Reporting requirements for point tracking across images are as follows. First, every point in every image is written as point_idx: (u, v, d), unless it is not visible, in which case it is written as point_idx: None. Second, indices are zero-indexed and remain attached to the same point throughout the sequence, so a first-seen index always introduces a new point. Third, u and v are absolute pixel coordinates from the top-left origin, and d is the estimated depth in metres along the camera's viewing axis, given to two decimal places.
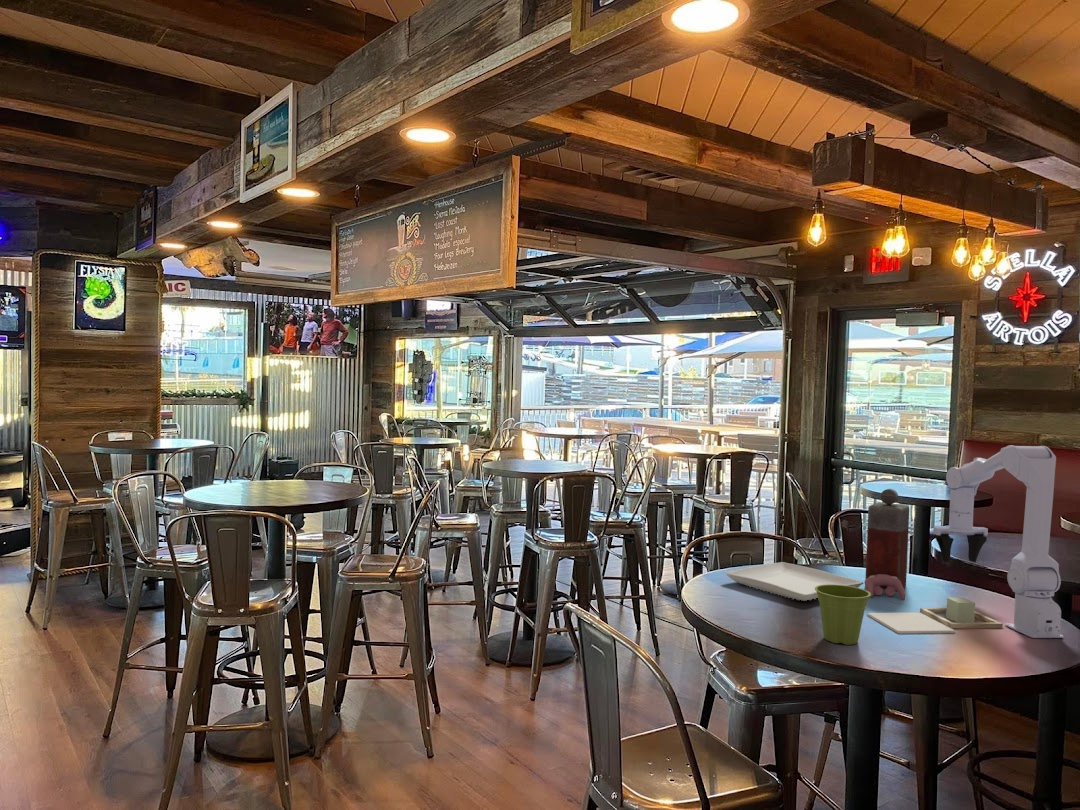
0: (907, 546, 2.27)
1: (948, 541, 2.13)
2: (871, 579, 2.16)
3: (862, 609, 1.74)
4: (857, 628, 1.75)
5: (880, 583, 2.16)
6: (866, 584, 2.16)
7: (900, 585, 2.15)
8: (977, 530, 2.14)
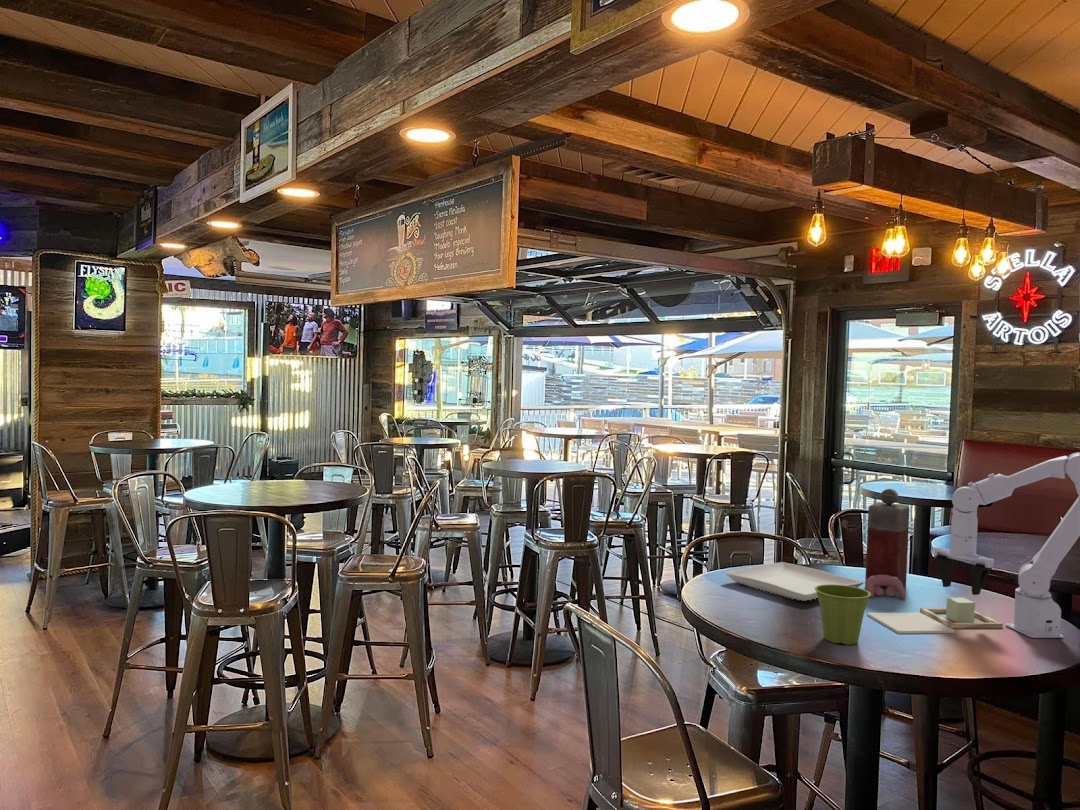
0: (907, 546, 2.27)
1: (937, 562, 1.99)
2: (871, 579, 2.16)
3: (862, 609, 1.74)
4: (857, 628, 1.75)
5: (880, 583, 2.16)
6: (866, 584, 2.16)
7: (900, 585, 2.14)
8: (971, 558, 1.91)
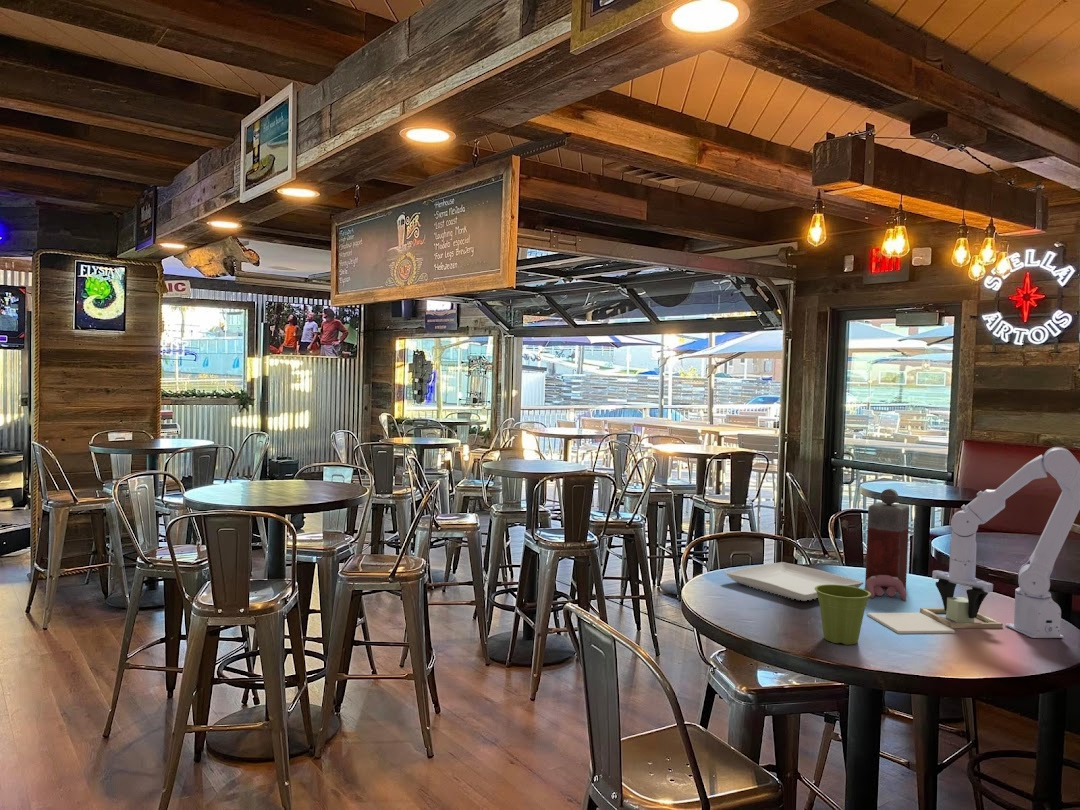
0: (907, 546, 2.27)
1: (938, 586, 1.98)
2: (872, 580, 2.15)
3: (862, 609, 1.74)
4: (857, 628, 1.75)
5: (881, 584, 2.15)
6: (867, 585, 2.16)
7: (901, 586, 2.14)
8: (970, 582, 1.92)
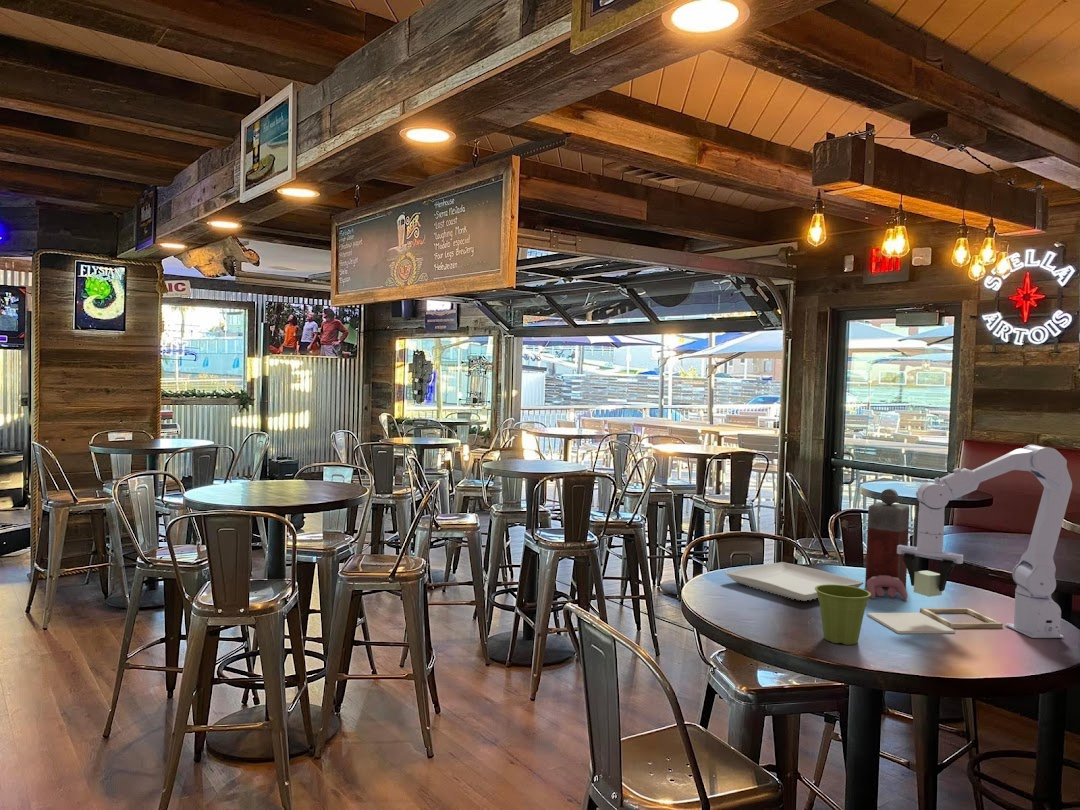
0: None
1: (907, 561, 1.94)
2: (873, 580, 2.15)
3: (862, 609, 1.74)
4: (857, 628, 1.75)
5: (882, 584, 2.15)
6: (868, 585, 2.15)
7: (902, 586, 2.14)
8: (942, 555, 1.89)
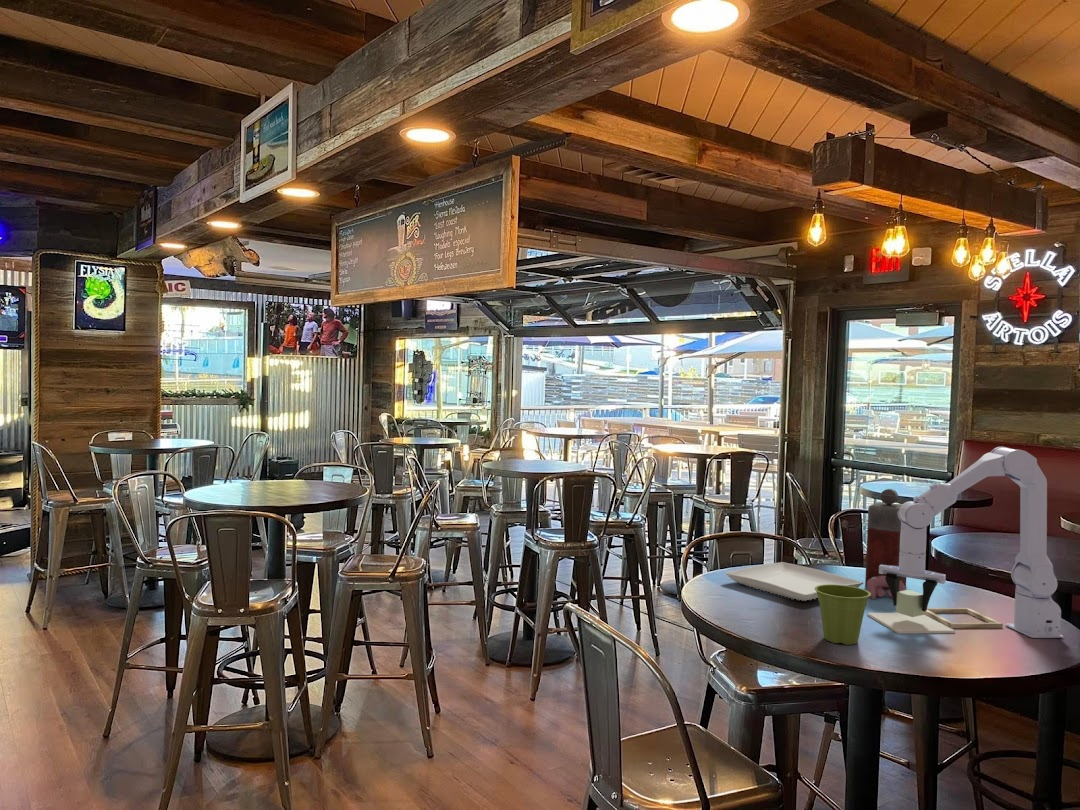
0: None
1: (889, 581, 1.92)
2: (873, 581, 2.15)
3: (862, 609, 1.74)
4: (857, 628, 1.75)
5: (882, 585, 2.15)
6: (868, 586, 2.15)
7: (902, 587, 2.13)
8: (926, 575, 1.87)
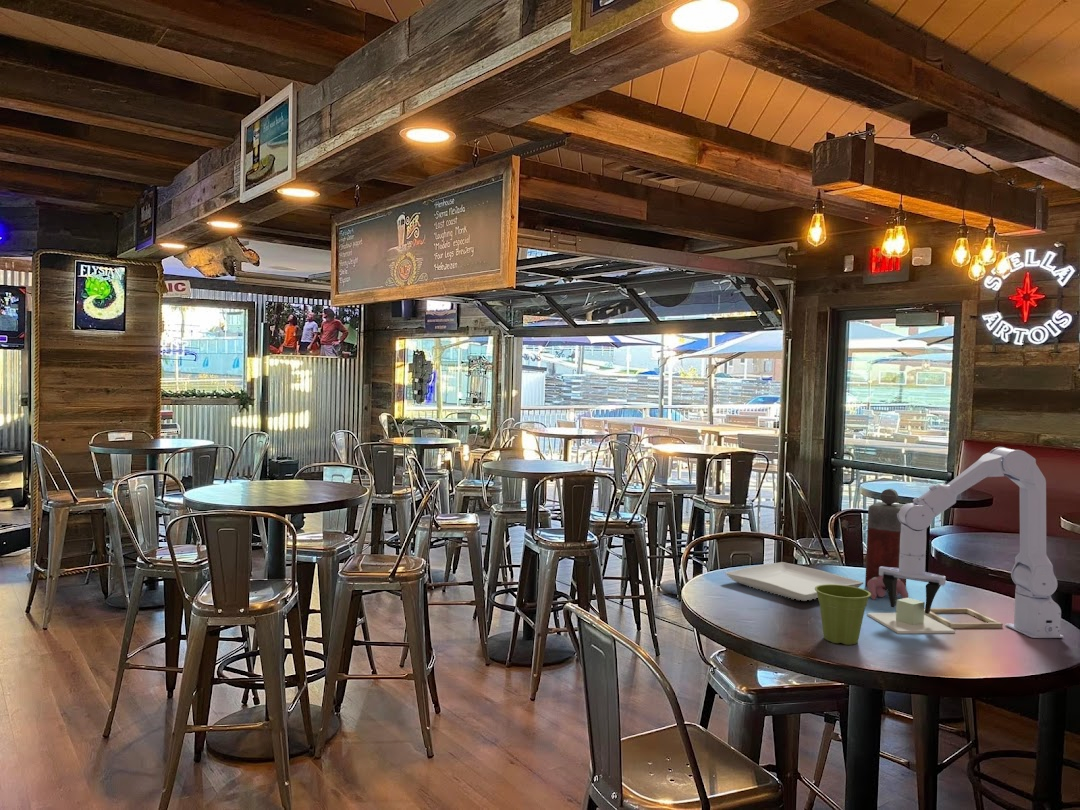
0: None
1: (886, 583, 1.92)
2: (874, 581, 2.14)
3: (862, 609, 1.74)
4: (857, 628, 1.75)
5: (883, 585, 2.14)
6: (869, 586, 2.15)
7: (903, 587, 2.13)
8: (926, 577, 1.87)
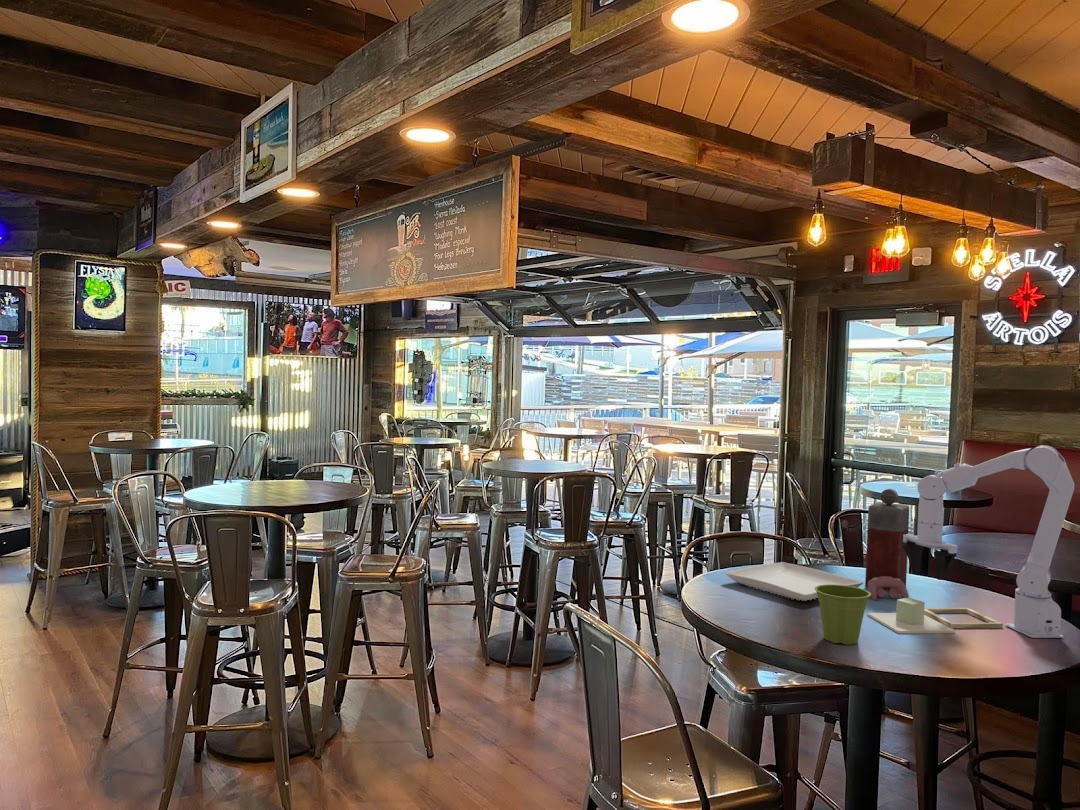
0: None
1: (905, 548, 2.05)
2: (874, 581, 2.14)
3: (862, 609, 1.74)
4: (857, 628, 1.75)
5: (883, 585, 2.14)
6: (869, 586, 2.14)
7: (903, 587, 2.13)
8: (935, 544, 1.97)
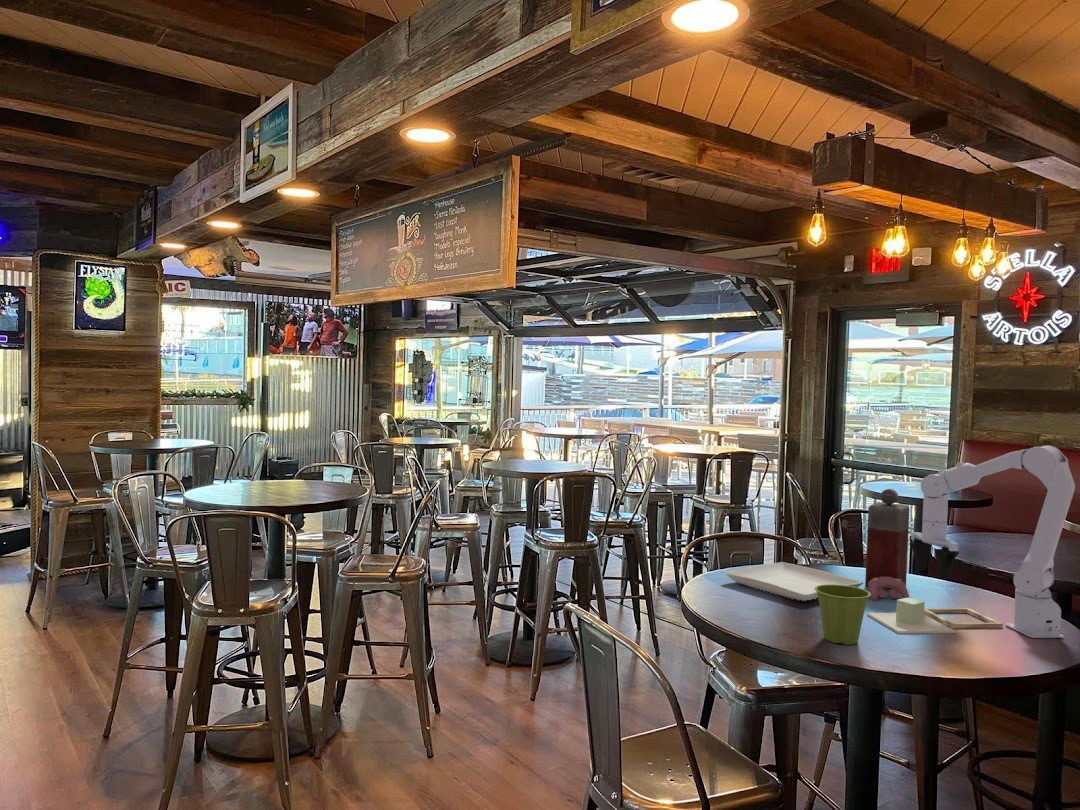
0: (907, 546, 2.27)
1: (911, 545, 2.08)
2: (875, 581, 2.14)
3: (862, 609, 1.74)
4: (857, 628, 1.75)
5: (884, 585, 2.14)
6: (870, 586, 2.14)
7: (904, 587, 2.12)
8: (937, 541, 2.00)
